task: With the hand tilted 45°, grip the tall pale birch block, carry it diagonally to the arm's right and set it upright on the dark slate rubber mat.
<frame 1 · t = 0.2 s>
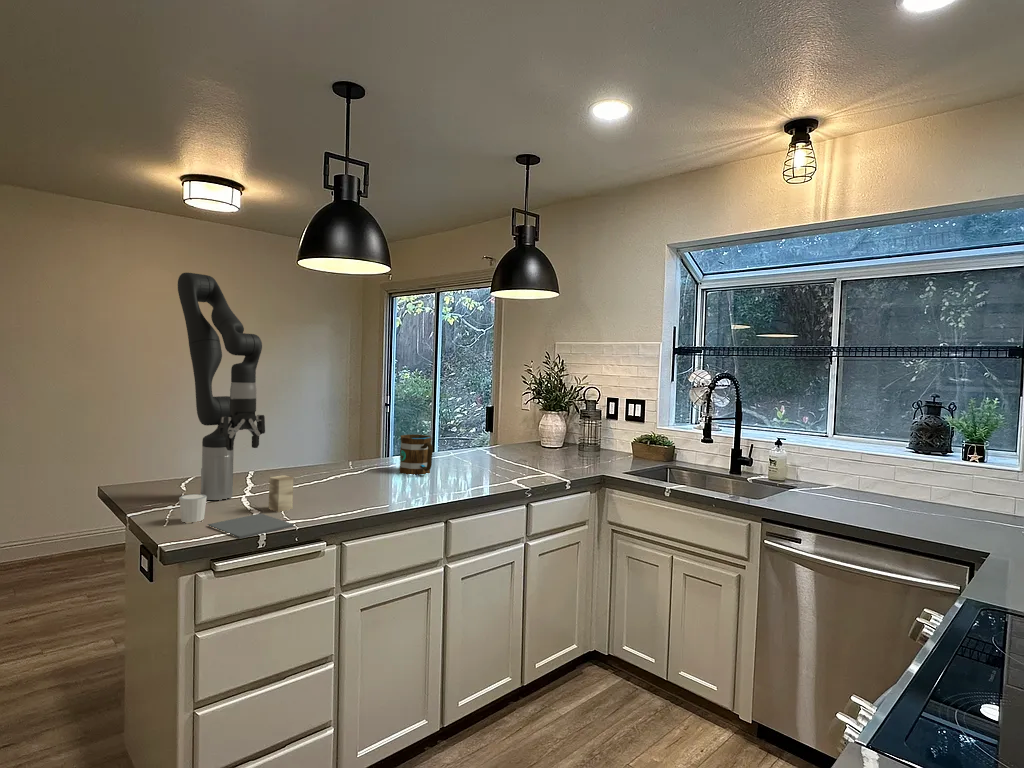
hand: (242, 449, 188), 18 cm above the worktop, tool pointing down, fingers open, 8 cm apart
slate mat: (250, 526, 168), on the worktop
birch block: (280, 509, 187), on the worktop
white tapered cup: (192, 521, 171), on the worktop
mug: (418, 473, 252), on the worktop
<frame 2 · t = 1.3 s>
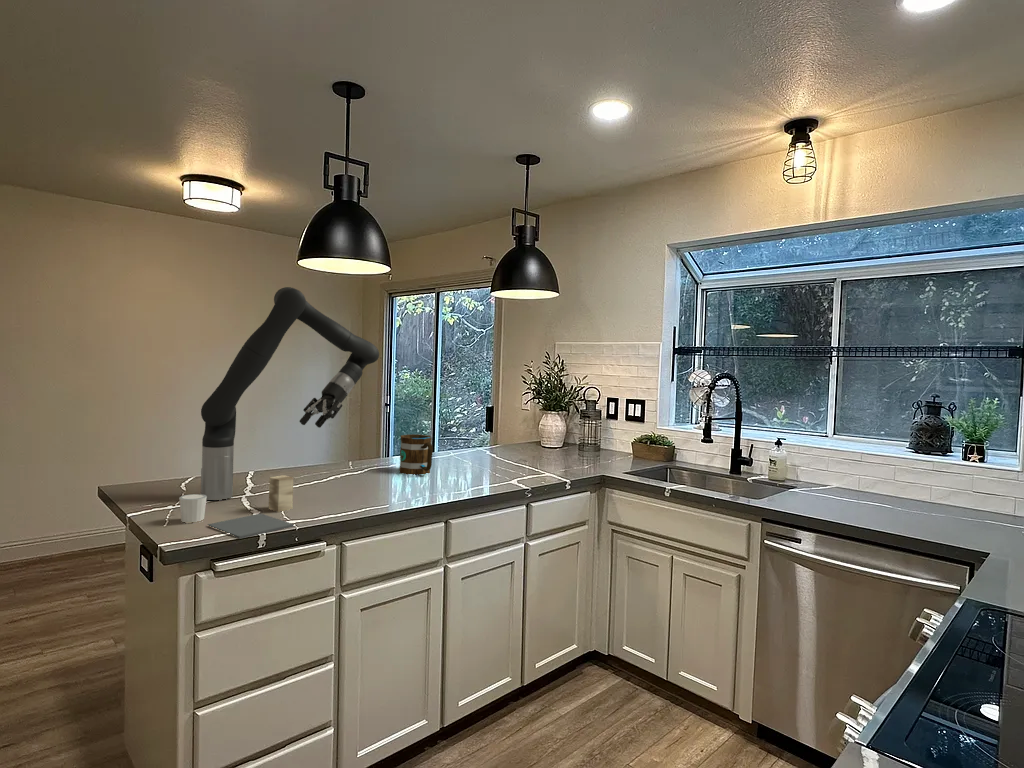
hand: (309, 424, 198), 25 cm above the worktop, tool tilted 45°, fingers open, 8 cm apart
nothing on the worktop moved.
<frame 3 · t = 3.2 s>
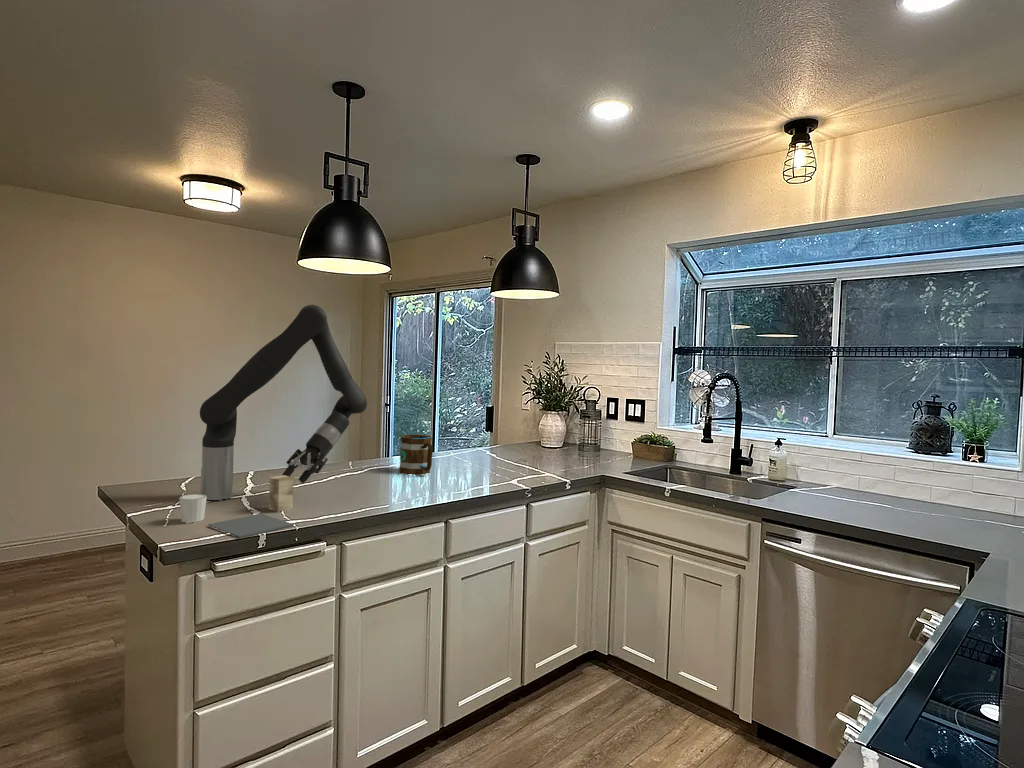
hand: (292, 479, 190), 9 cm above the worktop, tool tilted 45°, fingers open, 8 cm apart
nothing on the worktop moved.
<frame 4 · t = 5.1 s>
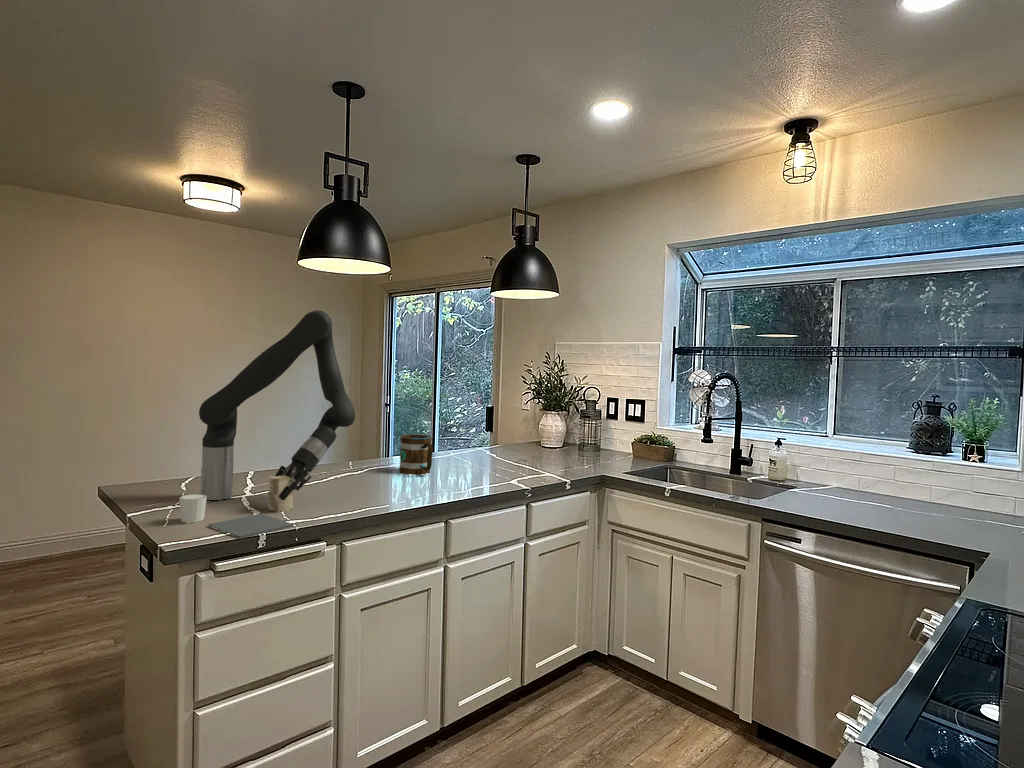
hand: (275, 496, 185), 4 cm above the worktop, tool tilted 45°, fingers closed on birch block, 5 cm apart
birch block: (280, 509, 187), on the worktop, touching gripper
everything else where it was.
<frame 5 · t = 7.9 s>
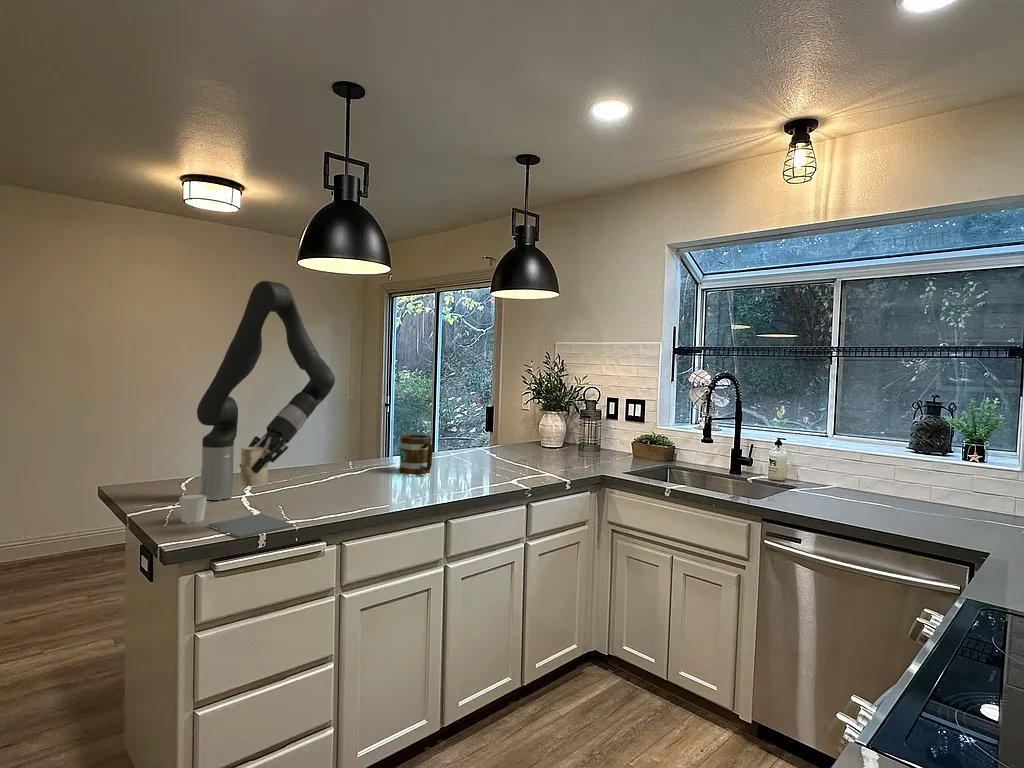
hand: (248, 469, 166), 16 cm above the worktop, tool tilted 45°, fingers closed on birch block, 5 cm apart
birch block: (253, 483, 168), point 12 cm above the worktop, touching gripper
everything else where it was.
when the fingers open (6 cm above the worktop, at t = 10.7 s): birch block drops 1 cm, resting on slate mat.
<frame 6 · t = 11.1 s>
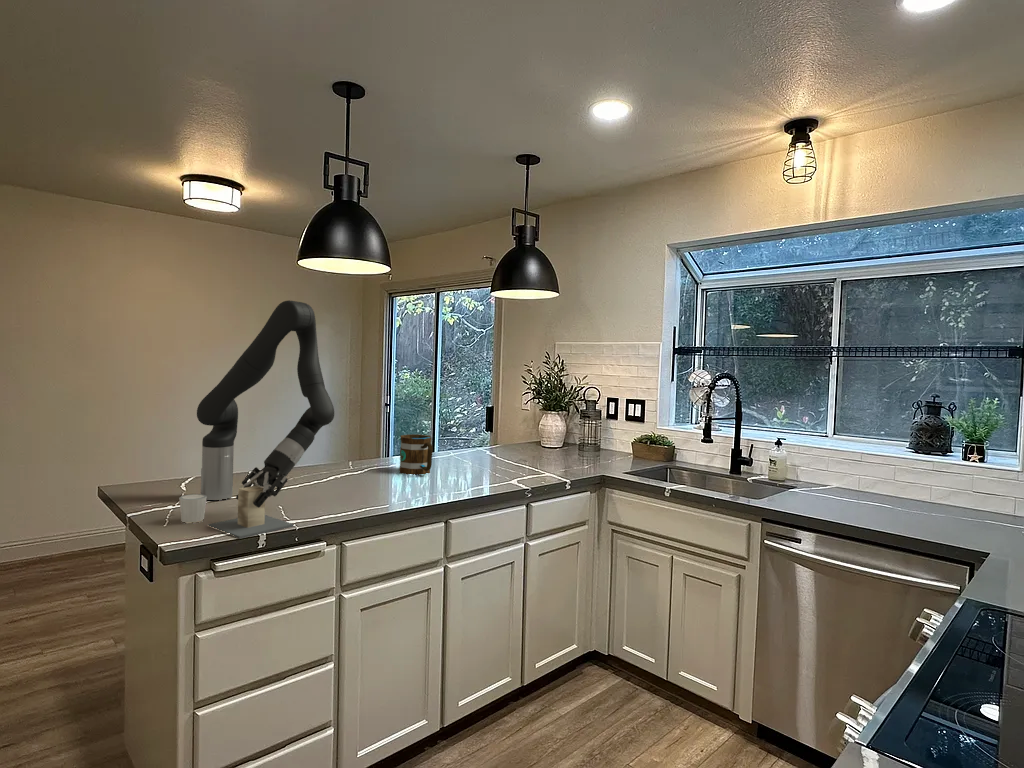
hand: (246, 502, 166), 7 cm above the worktop, tool tilted 45°, fingers open, 8 cm apart
birch block: (251, 524, 168), point 1 cm above the worktop, touching slate mat
everything else where it was.
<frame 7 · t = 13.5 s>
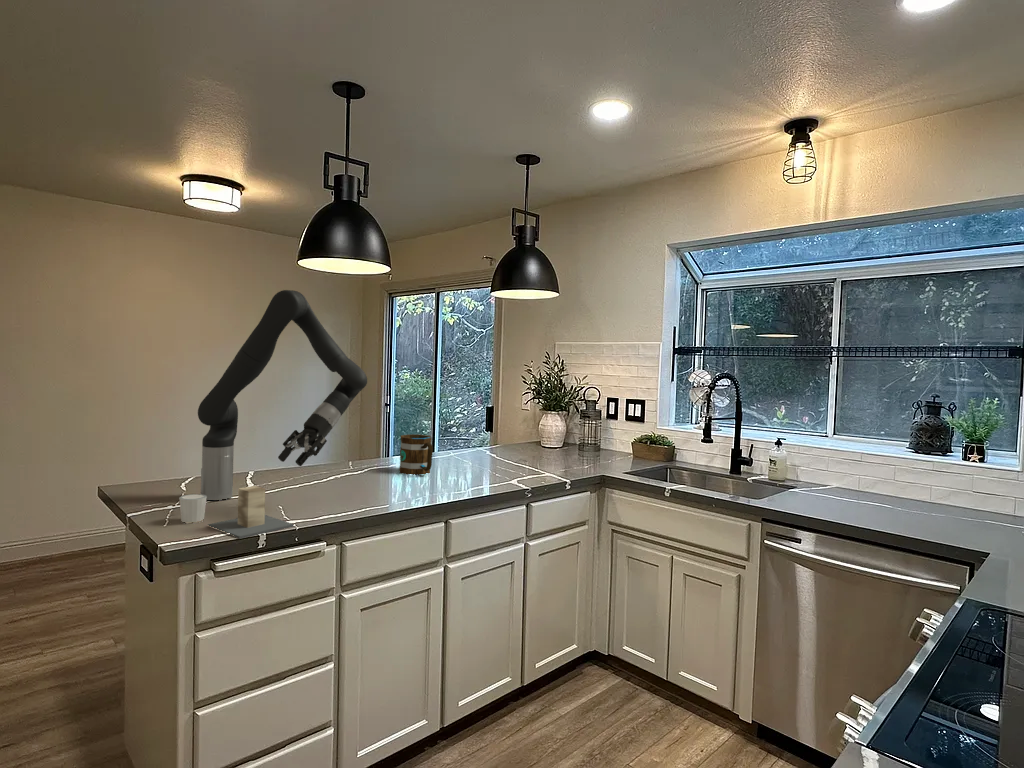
hand: (289, 462, 177), 17 cm above the worktop, tool tilted 45°, fingers open, 8 cm apart
nothing on the worktop moved.
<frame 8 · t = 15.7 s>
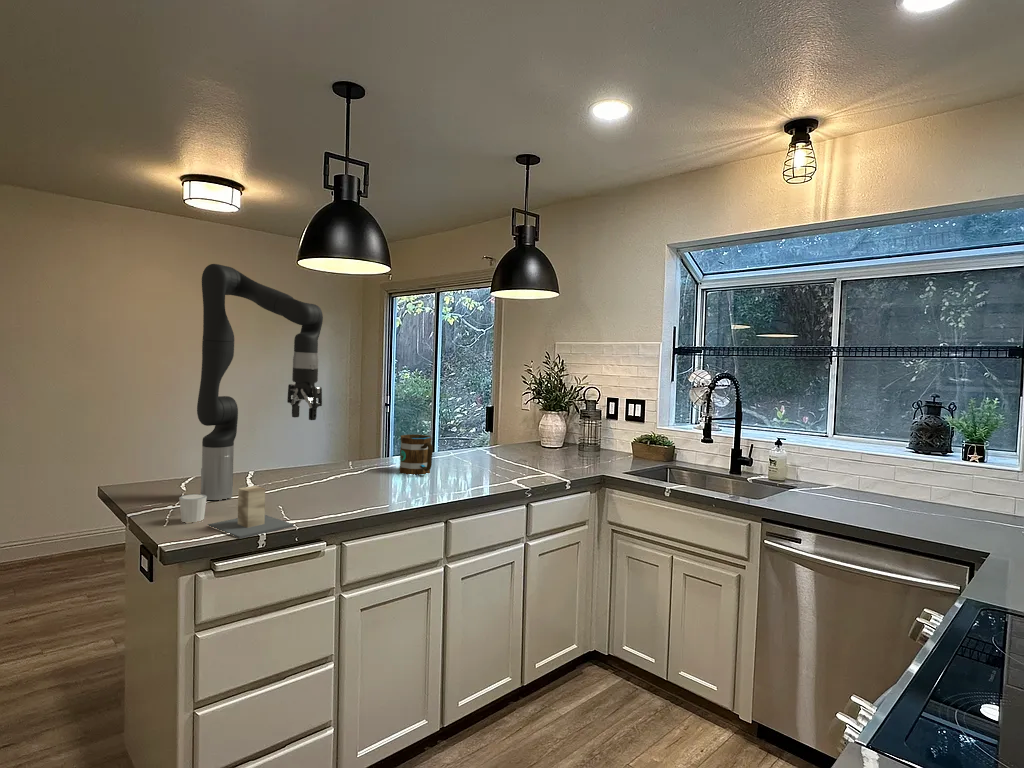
hand: (303, 418, 189), 28 cm above the worktop, tool pointing down, fingers open, 8 cm apart
nothing on the worktop moved.
at the end: birch block inside the target area on the slate mat (0.1 cm from its centre), point 0.6 cm above the slate mat's base; birch block tilted 0°; the gripper is holding nothing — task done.
